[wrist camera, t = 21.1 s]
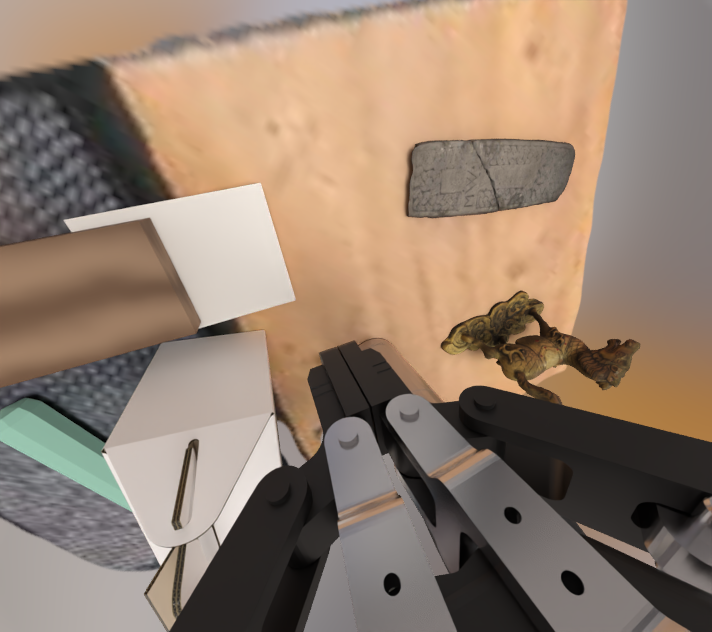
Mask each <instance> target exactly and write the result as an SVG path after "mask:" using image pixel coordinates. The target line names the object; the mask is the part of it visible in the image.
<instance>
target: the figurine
mask: <svg viewBox="0 0 712 632" xmlns="http://www.w3.org/2000/svg"><path fill="white" fill-rule="evenodd" d="M528 298H529V296H528V294H527V293H526V292H524V291H519V292H518V293H516V294H515V295H514V296H513V297H512V298H510V299H509V300H508V301H506V302H499V303H497V304H496V305H494V306H493V307H492V308H491V310H490V312H489V313H488V314H487V315H482V316H476V317H473V318H471V319H469V320H467V321H465V322H462V323H460V324H458V325H457V326H456V327H454V328H453V329H452V330H451V332H450V334H449V336H448V337H447V338H446V340H445V341H443V342H442V344H441V346H442V349H443V350H444V351H446V352H447V353H449V354H452V355H455V354H459V353H461V352H463V351H465V350H466V349H469V350H473V351H475V350H478V349H479V348H480V349H481V350H482V351H483V353H484V356H485V358H487V359H491V358H496V359H498V361H497V362H496V363H497V364H498V365H500V366H501V367H502V371H503V373H504V375H505V376H506V377H507V378H509V379H511V380H514V381H517V382H518V384H519V386H520V387H521V388H522V389H523V390H525V391H526V393H527V394H529V395H531V396H533V397H534V398H536V399H540V400H544V401H548V402H552V403H556V404H560V405H562V402H561V400H560V398H559V396H557V395H556V394H554V393H552V392H551V391H549V390H546V389H544V388H542V387H537V386H535V385H532V384H530V383H529V382H528V381H527V380H531V379H534V378H535V377H537V376H539V375H540V374H541V373H543V372H544V371H545V370H547V369H549V368H551V367H555V368H556V366H557V365H563V364H566V365H570V366H572V367H574V368H576V369H577V370H578V371H579V372H581V373H582V374H583V375H585V376H586V377H588V378H590V379H592V380H595V381H596V383H597V384H599V387H601V388H602V390H607V389H609V388H610V387H611V386H614V387H617V386H618V385H619V383H620V380H621V378H623V377H624V376H625V373H626V372H627V371H628V370H629V368H630V364H631V360H632V356H633V354H634V353H635V352H636V351H637V350H638V349H639V348H640V343H638V342H636V341H634V340H631V339H629V340H627V341H626V342H625V343H623V344H622V345H619V344H620V343H621V341H620V340H618V339H610V340H608V341H607V343H608V345H607V346H606V347H605V348H602V349H599V350H590V349H588V347H587V346H586V345H585V344H584V343H583V342H582V341H581V340H579V339H577V338H576V337H573V336H571V335H567V334H562V333H560V332H558V330H557V328H556V327H549V326H548V324H547V323H546V322H545V321H544V320H543V319H542V317H541V316H540V314H541V312H542V311H543V309H544V304H543V303H542V302H540V301H538V300H536V299H528ZM535 320H536V321H538V323H539V326H540V336H538V335H533V336H525V337H522V338H519V339H517V340H516V341H515V344H509V343H507V342H508V339H509V335H510V334H518V333H520V332H522V331H524V330H525V324H526V323H531V322H533V321H535Z"/></svg>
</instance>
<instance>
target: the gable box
mask: <svg viewBox="0 0 712 632" xmlns="http://www.w3.org/2000/svg"><path fill="white" fill-rule="evenodd" d="M101 453H102V455H103V457H104V458H105V460H106V462H107V464H108V466H109V468H110V470H111V472H112V474H113V476H114V478H115V480H116V481H117V483H118V485H119V487H120V489H121V491H122V493H123V495H124V497H125V499H126V501H127V502H128V504H129V506H130V508H131V510H132V512H133V514H134V516H135V518H136V520H137V522H138V524H139V525H140V527H141V529H142V531H143V533H144V535H145V537H146V539H147V541H148V543H149V545H150V547H151V548H152V550H153V552H154V554H155V556H156V558H157V560H158V562H159V564H160V568H159V570H158V572H157V573H156V575H155V576H154V578H153V580H152V581H151V583H150V584H149V586H148V588H147V589H146V591H145V593H144V596H145V597H146V599H147V600H148V602H149V604H150V605H151V607H152V608H153V610H154V611H155V613H156V615H157V616H158V618H159V620H160V621H161V623H162V624H163V626H164V628H165V629H166V631H167V632H169V631H170V629H171V627H172V626H173V624H174V622H175V621H176V619H177V617H178V616H179V614H180V612H181V611H182V609H183V607H184V606H185V604H186V602H187V601H188V599H189V598H190V596H191V594H192V593H193V591H194V589H195V588H196V586H197V584H198V583H199V581H200V579H201V578H202V576H203V574H204V573H205V571H206V569H207V568H208V566H209V564H210V563H211V561H212V559H213V558H214V556H215V554H216V553H217V551H218V549H219V548H220V546H221V544H222V543H223V541H224V539H225V538H226V536H227V534H228V533H229V531H230V529H231V528H232V526H233V524H234V523H235V521H236V519H237V518H238V516H239V514H240V513H241V511H242V509H243V508H244V506H245V504H246V503H247V501H248V499H249V498H250V496H251V494H252V493H253V491H254V489H255V488H256V486H257V485H258V483H259V482H260V481H261V479H262V478H263V477H264V476H265V475H266V474H268V473H269V472H271V471H272V470H274V469H276V468H278V467H282V460H281V451H280V443H279V435H278V428H277V419H276V411H275V404H274V396H273V388H272V380H271V372H270V364H269V357H268V349H267V341H266V333H265V331H264V330H258V331H250V332H243V333H235V334H227V335H219V336H211V337H203V338H196V339H188V340H180V341H172V342H164V343H161V345H160V346H159V348H158V350H157V351H156V353H155V355H154V357H153V359H152V360H151V362H150V364H149V366H148V368H147V369H146V371H145V373H144V375H143V377H142V378H141V380H140V382H139V384H138V386H137V387H136V389H135V391H134V393H133V395H132V396H131V398H130V400H129V402H128V404H127V405H126V407H125V409H124V411H123V413H122V414H121V416H120V418H119V420H118V422H117V423H116V425H115V427H114V429H113V431H112V432H111V434H110V436H109V438H108V440H107V441H106V443H105V445H104V447H103V449H102V450H101ZM197 455H198V456H197Z"/></svg>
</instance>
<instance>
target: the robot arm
mask: <svg viewBox="0 0 712 632" xmlns="http://www.w3.org/2000/svg"><path fill="white" fill-rule="evenodd" d="M319 355H320V359H321V363H322V365H321V366H318V367H315V368H312V369H310V372H309V376H308V383H309V386H310V389H311V392H312V396H313V399H314V402H315V406H316V409H317V412H318V415H319V419H320V422H321V425H322V429H323V441H322V444H321V446H320V448H319V450H318V451H317V453H316V454H315V455H314V456H313V457H312V458H311V459H310V460H308V461H307V462H306V463H305V464H303V465H302V466H301V467H300V468H297V467H294V466H282V467H278V468H276V469H274V470H272V471H271V472H269V473H268V474H266V475H265V476H264V477H263V478H262V479H261V481H260V482H259V483H258V485H257V486H256V488H255V489H254V491H253V493H252V494H251V496H250V498H249V499H248V501H247V503H246V504H245V506H244V508H243V509H242V511H241V513H240V514H239V516H238V518H237V519H236V521H235V523H234V524H233V526H232V528H231V529H230V531H229V533H228V534H227V536H226V538H225V539H224V541H223V543H222V544H221V546H220V548H219V549H218V551H217V553H216V554H215V556H214V558H213V559H212V561H211V563H210V564H209V566H208V568H207V569H206V571H205V573H204V574H203V576H202V578H201V579H200V581H199V583H198V584H197V586H196V588H195V589H194V591H193V593H192V594H191V596H190V598H189V599H188V601H187V602H186V604H185V606H184V607H183V609H182V611H181V612H180V614H179V616H178V617H177V619H176V621H175V622H174V624H173V626H172V627H171V629H170V631H169V632H303V631H304V628H305V624H306V622H307V619H308V615H309V613H310V610H311V607H312V603H313V600H314V597H315V594H316V591H317V588H318V584H319V582H320V579H321V576H322V572H323V569H324V567H325V563H326V560H327V557H328V554H329V550H330V546H331V544H333V542H334V541H335V540H336V539H337V538H338V537H339V536H340V541H341V547H342V552H343V557H344V563H345V568H346V573H347V579H348V584H349V589H350V595H351V600H352V605H353V611H354V616H355V621H356V626H357V632H712V442H708V441H704V440H700V439H696V438H692V437H688V436H684V435H679V434H676V433H672V432H667V431H664V430H660V429H656V428H652V427H648V426H644V425H639V424H636V423H632V422H628V421H624V420H620V419H616V418H611V417H608V416H604V415H600V414H595V413H592V412H587V411H584V410H580V409H576V408H572V407H567V406H564V405H560V404H556V403H552V402H548V401H544V400H540V399H536V398H531V397H527V396H524V395H520V394H516V393H512V392H508V391H503V390H499V389H495V388H491V387H487V386H472V387H469V388H467V389H465V390H464V391H463V392H462V393H461V394H460V397H459V401H454V402H445V403H444V402H443V400H442V399H441V398H440V397H439V396H438V395H437V394H436V393H435V392H434V391H433V389H432V388H431V387H430V386H429V385H428V384H427V383H426V382H425V381H424V379H423V378H422V377H421V376H420V375H419V374H418V373H417V372H416V371H415V369H414V368H413V367H412V366H411V365H410V364H409V363H408V362H407V361H406V359H405V358H404V357H403V356H402V355H401V354H400V353H399V352H398V351H397V349H396V348H395V347H394V346H393V345H392V344H391V343H390V342H389V341H387V340H384V339H379V338H378V339H371V340H368V341H366V342H363V343H362V344H361V345H359V346H358V345H357V343H356V342H355V341H351V342H348V343H346V344H343V345H340V346H337V347H334V348H331V349H328V350H325V351H322V352H319ZM387 453H389V454H390V456H391V458H392V460H393V462H394V466H395V472H396V474H397V477H398V478H399V480H400V482H401V483H402V485H403V486H404V488H405V490H406V491H407V493H408V495H409V496H410V498H411V500H412V501H413V503H414V504H415V506H416V508H417V510H418V511H419V513H420V514H421V516H422V518H423V519H424V521H425V524H426V526H427V528H428V530H429V532H430V535H431V537H432V539H433V541H434V543H435V546H436V548H437V550H438V552H439V554H440V556H441V558H442V560H443V562H444V564H445V566H446V568H447V570H448V572H449V574H445V575H439V576H434V574H433V572H432V569H431V567H430V564H429V562H428V559H427V557H426V555H425V552H424V550H423V547H422V545H421V542H420V540H419V537H418V535H417V533H416V530H415V528H414V525H413V523H412V520H411V518H410V515H409V513H408V511H407V508H406V506H405V504H404V502H403V499H402V498H401V496H400V495H398V494H397V492H396V490H395V487H394V485H393V482H392V480H391V477H390V475H389V472H388V470H387V467H386V465H385V462H384V460H383V457H382V455H385V454H387ZM576 522H578V523H580V524H582V525H585V526H587V527H589V528H592V529H594V530H596V531H599V532H601V533H604V534H606V535H609V536H611V537H613V538H615V539H618V540H620V541H622V542H625V543H627V544H629V545H632V546H635V547H636V548H639V549H641V550H644V551H646V552H648V553H650V554H651V556H652V557H653V559H654V560H655V565H656V568H654V567H652V566H650V565H648V564H646V563H643V562H641V561H639V560H637V559H635V558H633V557H631V556H629V555H627V554H624V553H622V552H620V551H618V550H616V549H614V548H612V547H609V546H607V545H605V544H603V543H601V542H599V541H597V540H594V539H592V538H590V537H588V536H586V535H585V533H584V532H583V531H582V529H581V528H580V527H579V526H578V524H577V523H576Z"/></svg>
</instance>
